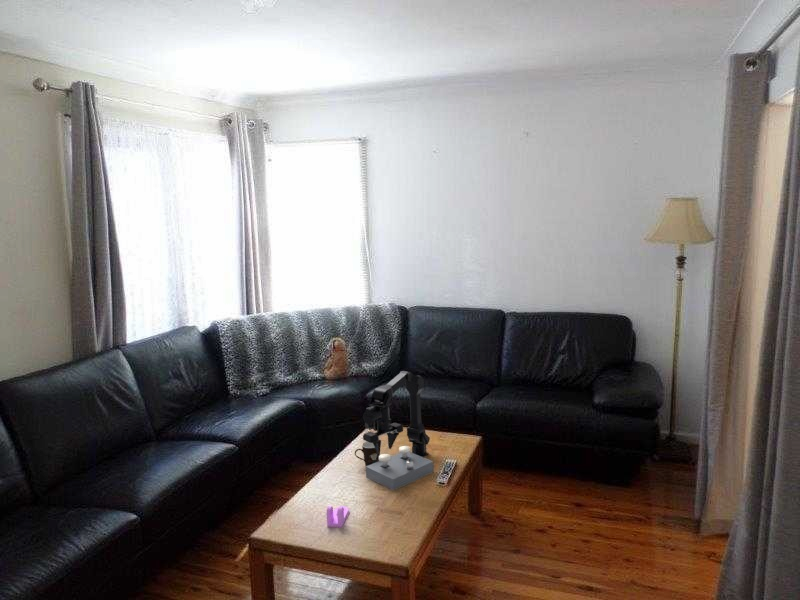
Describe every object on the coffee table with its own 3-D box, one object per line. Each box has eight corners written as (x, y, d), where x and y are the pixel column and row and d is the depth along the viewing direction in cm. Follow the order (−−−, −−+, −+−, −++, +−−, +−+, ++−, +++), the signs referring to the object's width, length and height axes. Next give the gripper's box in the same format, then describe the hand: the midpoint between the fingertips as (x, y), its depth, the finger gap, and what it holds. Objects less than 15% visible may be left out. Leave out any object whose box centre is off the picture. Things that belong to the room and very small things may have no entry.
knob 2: (405, 453, 268) (404, 445, 268) (413, 457, 264) (412, 448, 264) (396, 457, 265) (396, 448, 264) (404, 460, 261) (404, 451, 260)
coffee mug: (382, 460, 274) (381, 440, 272) (380, 469, 266) (379, 448, 264) (358, 460, 275) (357, 440, 274) (354, 468, 267) (353, 447, 265)
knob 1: (385, 462, 260) (385, 453, 260) (393, 465, 256) (393, 456, 256) (376, 465, 257) (376, 456, 256) (384, 469, 253) (384, 460, 252)
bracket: (341, 527, 218) (340, 510, 217) (327, 526, 219) (326, 509, 218) (350, 509, 230) (349, 493, 229) (336, 509, 231) (335, 492, 230)
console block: (405, 460, 274) (405, 450, 273) (433, 472, 261) (433, 461, 260) (366, 477, 258) (365, 466, 257) (393, 490, 245) (393, 479, 244)
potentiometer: (409, 466, 256) (409, 456, 255) (414, 468, 254) (414, 458, 253) (404, 468, 254) (404, 458, 253) (409, 470, 252) (409, 460, 251)
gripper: (386, 407, 265) (388, 440, 268) (354, 418, 253) (355, 452, 255) (403, 413, 257) (404, 446, 260) (370, 424, 245) (372, 459, 247)
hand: (384, 451), depth 256 cm, fingers open, 6 cm apart
